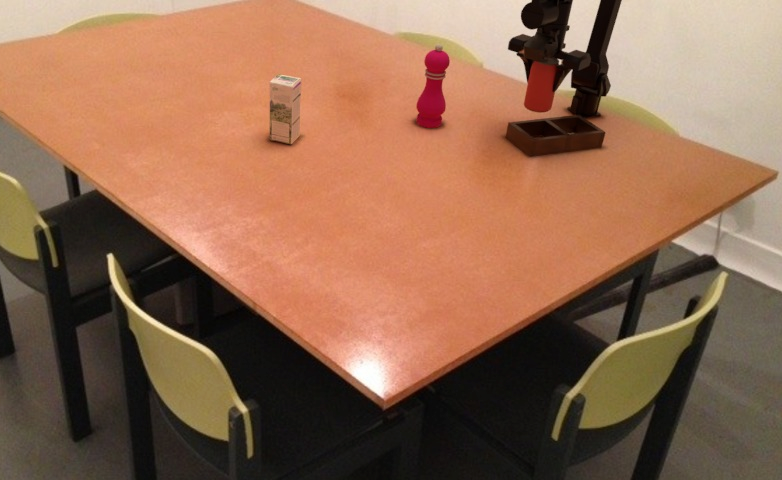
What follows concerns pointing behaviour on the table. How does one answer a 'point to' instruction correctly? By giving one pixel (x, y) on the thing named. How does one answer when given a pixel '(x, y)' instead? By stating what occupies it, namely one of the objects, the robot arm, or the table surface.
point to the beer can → (541, 85)
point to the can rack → (554, 135)
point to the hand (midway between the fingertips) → (541, 87)
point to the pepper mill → (433, 89)
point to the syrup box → (285, 108)
